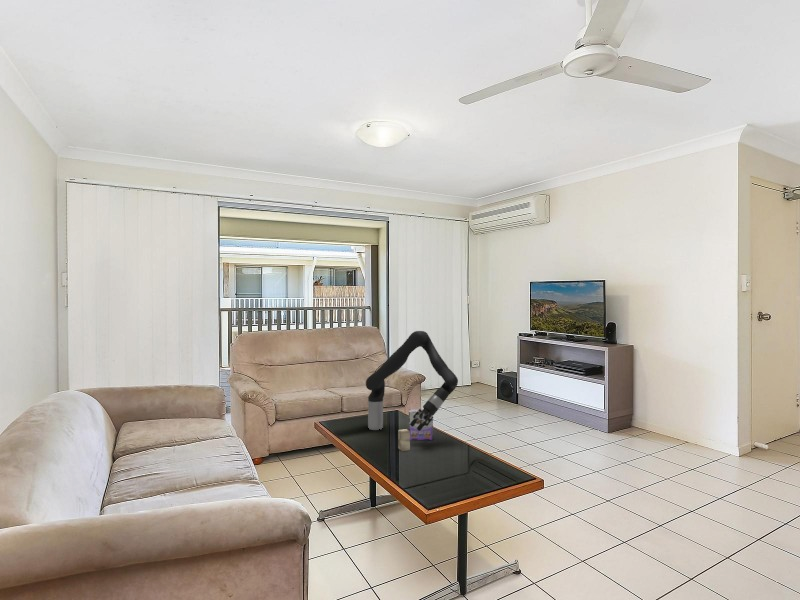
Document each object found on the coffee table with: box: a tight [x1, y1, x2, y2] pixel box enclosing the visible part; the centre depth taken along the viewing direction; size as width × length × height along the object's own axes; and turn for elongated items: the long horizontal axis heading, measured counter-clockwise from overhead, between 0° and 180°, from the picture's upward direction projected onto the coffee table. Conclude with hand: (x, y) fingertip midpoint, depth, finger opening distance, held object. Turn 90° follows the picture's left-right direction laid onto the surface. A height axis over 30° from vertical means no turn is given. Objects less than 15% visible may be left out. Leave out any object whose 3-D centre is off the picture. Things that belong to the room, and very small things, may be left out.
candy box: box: [408, 408, 434, 441], centre depth 258 cm, size 14×6×16 cm, turn 84°
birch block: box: [397, 428, 411, 452], centre depth 239 cm, size 5×5×10 cm
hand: (414, 427), depth 242 cm, fingers open, 8 cm apart
